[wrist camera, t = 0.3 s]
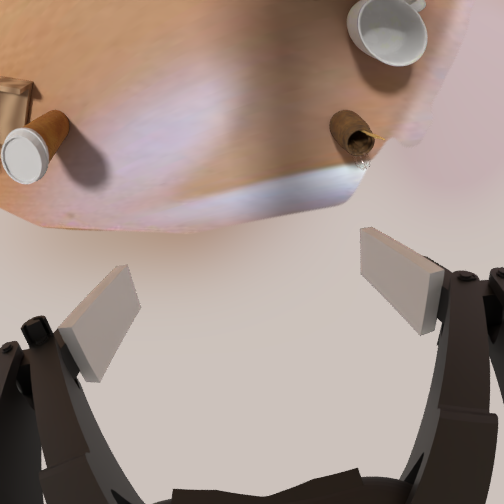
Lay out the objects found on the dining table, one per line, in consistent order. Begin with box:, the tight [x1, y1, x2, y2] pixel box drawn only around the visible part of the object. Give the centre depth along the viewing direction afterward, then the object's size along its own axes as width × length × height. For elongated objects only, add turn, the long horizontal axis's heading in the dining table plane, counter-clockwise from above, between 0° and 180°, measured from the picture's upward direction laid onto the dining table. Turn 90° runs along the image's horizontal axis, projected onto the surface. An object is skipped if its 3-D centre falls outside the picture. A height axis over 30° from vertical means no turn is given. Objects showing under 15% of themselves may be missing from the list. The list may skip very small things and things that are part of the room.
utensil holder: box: [330, 110, 385, 170], centre depth 38 cm, size 6×6×12 cm
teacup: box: [347, 0, 427, 66], centre depth 25 cm, size 14×11×8 cm
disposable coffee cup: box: [1, 110, 69, 184], centre depth 32 cm, size 10×10×12 cm
